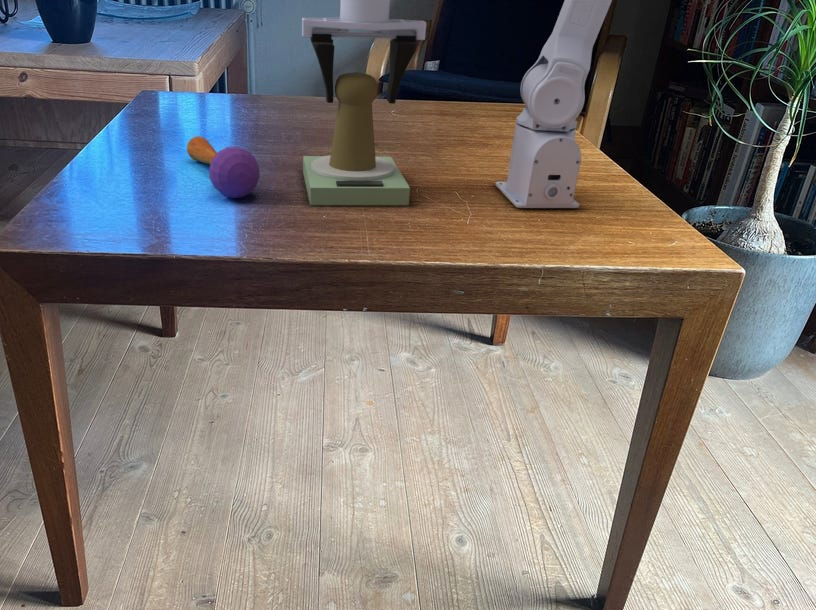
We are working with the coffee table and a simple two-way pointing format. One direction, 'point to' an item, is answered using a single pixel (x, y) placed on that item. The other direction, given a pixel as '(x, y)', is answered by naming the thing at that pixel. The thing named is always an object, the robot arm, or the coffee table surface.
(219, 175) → the maraca
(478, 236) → the coffee table surface
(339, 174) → the scale
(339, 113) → the cork
